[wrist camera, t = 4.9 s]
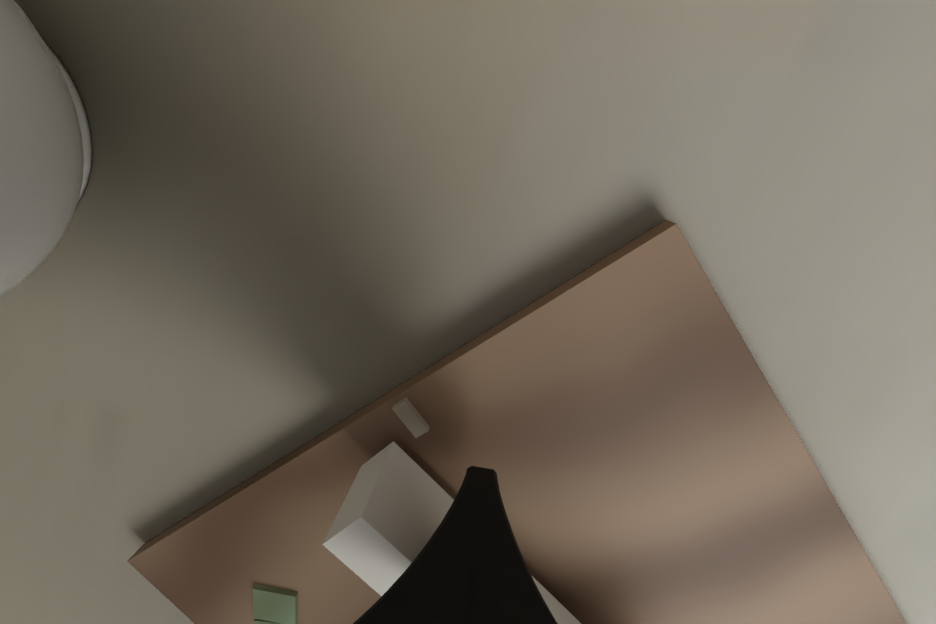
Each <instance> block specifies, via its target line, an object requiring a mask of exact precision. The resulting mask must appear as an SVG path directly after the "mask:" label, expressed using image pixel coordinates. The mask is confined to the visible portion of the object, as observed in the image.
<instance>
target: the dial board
mask: <svg viewBox="0 0 936 624" xmlns="http://www.w3.org/2000/svg"><path fill="white" fill-rule="evenodd" d="M393 441H394V442H395V443H396V444H397V445H398V446H399V447H400V448H401V449H402V450H403V451H404V452H405V453H406V454H407V455H408V456H409V457H410V458H411V459H412V460H413V461H414V462H415V463H416V464H417V465H418V466H420V467H421V468H422V469H423V470H424V471H425V472H426V473H427V474H428V475H429V476H430V477H431V478H432V479H433V480H434V481H435V482H436V483H437V484H438V485H439V486H440V487H441V488H442V489H443V490H444V491H445V492H446V493H447V494H448V495H449V496H450V497H451V498H452V499H454V500H455V498H456V496H457V494H458V492H459V490H460V487H461V485H462V483H463V480H464V478H465V475H466V471H467V468H469V467H470V466H476V467H482V468H488V469H494V471H495V472H496V473H497V479H498V485H499V490H500V494H501V498H502V501H503V505H504V508H505V511H506V514H507V517H508V520H509V523H510V526H511V529H512V531H513V534H514V537H515V539H516V542H517V544H518V547H519V549H520V552H521V554H522V556H523V558H524V561H525V563H526V565H527V567H528V569H529V572H530V574H531V575H532V576H533V577H534V578H535V579H536V580H537V581H538V582H539V583H540V584H541V585H542V586H543V587H544V588H545V589H546V590H547V591H548V592H549V593H550V594H551V595H552V596H553V597H554V598H555V599H556V600H558V601H559V602H560V603H561V604H562V605H563V606H564V607H565V608H566V609H567V610H568V611H569V612H570V613H571V614H572V615H573V616H574V617H575V618H576V619H577V620H578V621H579V622H580V623H581V624H906V622H905V621H904V619H903V617H902V615H901V614H900V612H899V610H898V608H897V607H896V605H895V603H894V601H893V600H892V598H891V596H890V594H889V593H888V591H887V589H886V587H885V586H884V584H883V582H882V581H881V579H880V577H879V575H878V574H877V572H876V570H875V568H874V567H873V565H872V563H871V561H870V560H869V558H868V556H867V554H866V553H865V551H864V549H863V547H862V546H861V544H860V542H859V540H858V539H857V537H856V535H855V534H854V532H853V530H852V528H851V527H850V525H849V523H848V521H847V520H846V518H845V516H844V514H843V513H842V511H841V509H840V507H839V506H838V504H837V502H836V500H835V499H834V497H833V495H832V493H831V492H830V490H829V488H828V487H827V485H826V483H825V481H824V480H823V478H822V476H821V474H820V473H819V471H818V469H817V467H816V466H815V464H814V462H813V460H812V459H811V457H810V455H809V453H808V452H807V450H806V448H805V446H804V445H803V443H802V441H801V440H800V438H799V436H798V434H797V433H796V431H795V429H794V427H793V426H792V424H791V422H790V420H789V419H788V417H787V415H786V413H785V412H784V410H783V408H782V406H781V405H780V403H779V401H778V399H777V398H776V396H775V394H774V393H773V391H772V389H771V387H770V386H769V384H768V382H767V380H766V379H765V377H764V375H763V373H762V372H761V370H760V368H759V366H758V365H757V363H756V361H755V359H754V358H753V356H752V354H751V352H750V351H749V349H748V347H747V346H746V344H745V342H744V340H743V339H742V337H741V335H740V333H739V332H738V330H737V328H736V326H735V325H734V323H733V321H732V319H731V318H730V316H729V314H728V312H727V311H726V309H725V307H724V305H723V304H722V302H721V300H720V299H719V297H718V295H717V293H716V292H715V290H714V288H713V286H712V285H711V283H710V281H709V279H708V278H707V276H706V274H705V272H704V271H703V269H702V267H701V265H700V264H699V262H698V260H697V258H696V257H695V255H694V253H693V252H692V250H691V248H690V246H689V245H688V243H687V241H686V239H685V238H684V236H683V234H682V232H681V231H680V229H679V227H678V225H677V224H676V223H673V222H671V221H668V220H665V221H663V222H662V223H660V224H659V225H657V226H655V227H654V228H652V229H650V230H649V231H647V232H646V233H644V234H642V235H641V236H639V237H638V238H636V239H634V240H633V241H631V242H630V243H628V244H626V245H625V246H623V247H621V248H620V249H618V250H617V251H615V252H613V253H612V254H610V255H609V256H607V257H605V258H604V259H602V260H601V261H599V262H597V263H596V264H594V265H592V266H591V267H589V268H588V269H586V270H584V271H583V272H581V273H580V274H578V275H576V276H575V277H573V278H572V279H570V280H568V281H567V282H565V283H563V284H562V285H560V286H559V287H557V288H555V289H554V290H552V291H551V292H549V293H547V294H546V295H544V296H543V297H541V298H539V299H538V300H536V301H534V302H533V303H531V304H530V305H528V306H526V307H525V308H523V309H522V310H520V311H518V312H517V313H515V314H514V315H512V316H510V317H509V318H507V319H505V320H504V321H502V322H501V323H499V324H497V325H496V326H494V327H493V328H491V329H489V330H488V331H486V332H485V333H483V334H481V335H480V336H478V337H476V338H475V339H473V340H472V341H470V342H468V343H467V344H465V345H464V346H462V347H460V348H459V349H457V350H456V351H454V352H452V353H451V354H449V355H447V356H446V357H444V358H443V359H441V360H439V361H438V362H436V363H435V364H433V365H431V366H430V367H428V368H427V369H425V370H423V371H422V372H420V373H418V374H417V375H415V376H414V377H412V378H410V379H409V380H407V381H406V382H404V383H402V384H401V385H399V386H398V387H396V388H394V389H393V390H391V391H389V392H388V393H386V394H385V395H383V396H381V397H380V398H378V399H377V400H375V401H373V402H372V403H370V404H368V405H367V406H365V407H364V408H362V409H360V410H359V411H357V412H356V413H354V414H352V415H351V416H349V417H348V418H346V419H344V420H343V421H341V422H339V423H338V424H336V425H335V426H333V427H331V428H330V429H328V430H327V431H325V432H323V433H322V434H320V435H319V436H317V437H315V438H314V439H312V440H310V441H309V442H307V443H306V444H304V445H302V446H301V447H299V448H298V449H296V450H294V451H293V452H291V453H290V454H288V455H286V456H285V457H283V458H281V459H280V460H278V461H277V462H275V463H273V464H272V465H270V466H269V467H267V468H265V469H264V470H262V471H261V472H259V473H257V474H256V475H254V476H252V477H251V478H249V479H248V480H246V481H244V482H243V483H241V484H240V485H238V486H236V487H235V488H233V489H232V490H230V491H228V492H227V493H225V494H223V495H222V496H220V497H219V498H217V499H215V500H214V501H212V502H211V503H209V504H207V505H206V506H204V507H203V508H201V509H199V510H198V511H196V512H194V513H193V514H191V515H190V516H188V517H186V518H185V519H183V520H182V521H180V522H178V523H177V524H175V525H174V526H172V527H170V528H169V529H167V530H165V531H164V532H162V533H161V534H159V535H157V536H156V537H154V538H153V539H151V540H149V541H148V542H146V543H145V544H143V545H142V546H141V547H140V548H139V549H138V551H137V552H136V553H135V554H134V555H133V556H132V557H131V558H130V559H129V560H128V562H129V563H130V564H131V565H132V566H133V567H134V568H135V569H136V570H137V571H138V572H140V573H141V574H142V575H143V576H144V577H145V578H146V579H147V580H148V581H149V582H150V583H151V584H153V585H154V586H155V587H156V588H157V589H158V590H159V591H160V592H161V593H162V594H163V595H164V596H166V597H167V598H168V599H169V600H170V601H171V602H172V603H173V604H174V605H175V606H176V607H177V608H178V609H180V610H181V611H182V612H183V613H184V614H185V615H186V616H187V617H188V618H189V619H190V620H191V621H193V622H194V623H195V624H353V623H354V622H355V621H356V620H357V619H358V618H360V617H361V616H362V615H363V614H364V613H365V612H366V611H367V610H368V609H369V608H370V607H371V606H372V605H374V604H375V603H376V602H377V601H378V600H379V599H380V598H381V597H382V596H380V595H379V594H378V593H377V592H376V591H375V590H374V589H372V588H371V587H370V586H369V585H368V584H367V583H366V582H364V581H363V580H362V579H361V578H360V577H359V576H358V575H356V574H355V573H354V572H353V571H352V570H351V569H350V568H348V567H347V566H346V565H345V564H344V563H343V562H342V561H341V560H339V559H338V558H337V557H336V556H335V555H334V554H333V553H331V552H330V551H329V550H328V549H327V548H326V547H325V546H323V545H322V544H323V542H324V540H325V538H326V536H327V534H328V532H329V530H330V528H331V526H332V524H333V522H334V520H335V518H336V516H337V514H338V512H339V510H340V508H341V506H342V504H343V502H344V500H345V498H346V496H347V494H348V492H349V490H350V488H351V486H352V484H353V482H354V480H355V478H356V476H357V474H358V472H359V470H360V468H361V466H362V465H363V464H364V463H366V462H367V461H368V460H370V459H371V458H372V457H374V456H375V455H376V454H378V453H379V452H380V451H381V450H383V449H384V448H385V447H387V446H388V445H389V444H391V443H392V442H393Z"/></svg>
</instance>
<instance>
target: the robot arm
mask: <svg viewBox="0 0 936 624" xmlns="http://www.w3.org/2000/svg"><path fill="white" fill-rule="evenodd" d="M353 624H558V623H557V622H556V620H555V618H554V617H553V615H552V613H551V611H550V610H549V608H548V606H547V604H546V603H545V601H544V599H543V597H542V595H541V593H540V591H539V590H538V588H537V586H536V584H535V582H534V580H533V578H532V576H531V574H530V572H529V569H528V567H527V565H526V563H525V561H524V558H523V556H522V554H521V552H520V549H519V547H518V544H517V542H516V539H515V537H514V534H513V531H512V529H511V526H510V523H509V520H508V517H507V514H506V511H505V508H504V505H503V501H502V498H501V494H500V490H499V485H498V479H497V473H496V472H495V471H494V469H488V468H482V467H476V466H470V467H469V468H467V471H466V475H465V478H464V480H463V483H462V485H461V487H460V490H459V492H458V494H457V496H456V498H455V500H454V501H453V503H452V505H451V507H450V508H449V510H448V512H447V513H446V515H445V517H444V519H443V520H442V522H441V523H440V525H439V526H438V528H437V529H436V531H435V532H434V534H433V535H432V537H431V538H430V539H429V541H428V542H427V544H426V545H425V546H424V548H423V549H422V550H421V552H420V553H419V554H418V556H417V557H416V558H415V559H414V561H413V562H412V563H411V564H410V566H409V567H408V568H407V569H406V570H405V572H404V573H403V574H402V575H401V576H400V577H399V578H398V579H397V580H396V582H395V583H394V584H393V585H392V586H391V587H390V588H389V589H388V590H387V591H386V592H385V593H384V595H383V596H382V597H381V598H380V599H379V600H378V601H377V602H376V603H375V604H374V605H372V606H371V607H370V608H369V609H368V610H367V611H366V612H365V613H364V614H363V615H362V616H361V617H360V618H358V619H357V620H356V621H355V622H354V623H353Z"/></svg>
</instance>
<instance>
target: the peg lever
mask: <svg viewBox="0 0 936 624" xmlns="http://www.w3.org/2000/svg"><path fill="white" fill-rule="evenodd" d="M453 501H454V499H452V498H451V497H450V496H449V495H448V494H447V493H446V492H445V491H444V490H443V489H442V488H441V487H440V486H439V485H438V484H437V483H436V482H435V481H434V480H433V479H432V478H431V477H430V476H429V475H428V474H427V473H426V472H425V471H424V470H423V469H422V468H421V467H420V466H418V465H417V464H416V463H415V462H414V461H413V460H412V459H411V458H410V457H409V456H408V455H407V454H406V453H405V452H404V451H403V450H402V449H401V448H400V447H399V446H398V445H397V444H396V443H395V442H394V441H393V442H392V443H391V444H389V445H388V446H387V447H385V448H384V449H383V450H381V451H380V452H379V453H378V454H376V455H375V456H374V457H372V458H371V459H370V460H368V461H367V462H366V463H364V464H363V465H362V466H361V468H360V470H359V472H358V474H357V476H356V478H355V480H354V482H353V484H352V486H351V488H350V490H349V492H348V494H347V496H346V498H345V500H344V502H343V504H342V506H341V508H340V510H339V512H338V514H337V516H336V518H335V520H334V522H333V524H332V526H331V528H330V530H329V532H328V534H327V536H326V538H325V540H324V542H323V544H322V545H323V546H325V547H326V548H327V549H328V550H329V551H330V552H331V553H333V554H334V555H335V556H336V557H337V558H338V559H339V560H341V561H342V562H343V563H344V564H345V565H346V566H347V567H348V568H350V569H351V570H352V571H353V572H354V573H355V574H356V575H358V576H359V577H360V578H361V579H362V580H363V581H364V582H366V583H367V584H368V585H369V586H370V587H371V588H372V589H374V590H375V591H376V592H377V593H378V594H379V595H380V596H383V595H384V593H385V592H386V591H387V590H388V589H389V588H390V587H391V586H392V585H393V584H394V583H395V582H396V580H397V579H398V578H399V577H400V576H401V575H402V574H403V573H404V572H405V570H406V569H407V568H408V567H409V566H410V564H411V563H412V562H413V561H414V559H415V558H416V557H417V556H418V554H419V553H420V552H421V550H422V549H423V548H424V546H425V545H426V544H427V542H428V541H429V539H430V538H431V537H432V535H433V534H434V532H435V531H436V529H437V528H438V526H439V525H440V523H441V522H442V520H443V519H444V517H445V515H446V513H447V512H448V510H449V508H450V507H451V505H452V503H453ZM531 576H532V575H531ZM532 578H533V580H534V582H535V584H536V586H537V588H538V590H539V591H540V593H541V595H542V597H543V599H544V601H545V603H546V604H547V606H548V608H549V610H550V611H551V613H552V615H553V617H554V618H555V620H556V622H557V623H558V624H581V623H580V622H579V621H578V620H577V619H576V618H575V617H574V616H573V615H572V614H571V613H570V612H569V611H568V610H567V609H566V608H565V607H564V606H563V605H562V604H561V603H560V602H559V601H558V600H556V599H555V598H554V597H553V596H552V595H551V594H550V593H549V592H548V591H547V590H546V589H545V588H544V587H543V586H542V585H541V584H540V583H539V582H538V581H537V580H536V579H535V578H534V577H533V576H532Z"/></svg>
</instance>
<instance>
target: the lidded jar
mask: <svg viewBox="0 0 936 624" xmlns="http://www.w3.org/2000/svg"><path fill="white" fill-rule="evenodd" d="M91 163H92V143H91V132H90V128H89V123H88V119H87V115H86V112H85V109H84V106H83V103H82V101H81V98H80V95H79V93H78V91H77V89H76V87H75V85H74V83H73V81H72V79H71V77H70V76H69V74H68V72H67V71H66V69H65V68H64V66H63V65H62V63H61V62H60V60H59V59H58V57H57V56H56V55H55V54H54V53H53V51H52V50H51V49H50V48H49V47H48V45H47V44H46V43H45V42H44V41H43V40H42V38H41V36H40V35H39V33H38V32H37V30H36V29H35V27H34V26H33V24H32V23H31V21H30V20H29V18H28V17H27V15H26V14H25V12H24V11H23V10H22V9H21V8H20V6H19V5H18V4H17V3H16V1H15V0H0V298H1V297H3V296H4V295H6V294H7V293H9V292H10V291H11V290H12V289H14V288H15V287H16V286H18V285H19V284H20V283H21V282H23V281H24V280H25V279H26V278H28V277H29V276H30V275H31V274H32V273H33V272H34V271H35V270H36V269H37V268H38V267H40V266H41V265H42V264H43V263H44V261H45V260H46V259H47V258H48V256H49V255H50V254H51V253H52V251H53V250H54V249H55V247H56V246H57V244H58V243H59V241H60V240H61V239H62V237H63V236H64V234H65V233H66V231H67V229H68V226H69V224H70V222H71V219H72V217H73V214H74V212H75V209H76V206H77V203H78V202H79V200H80V199H81V197H82V195H83V193H84V191H85V188H86V186H87V184H88V180H89V175H90V171H91Z"/></svg>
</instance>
